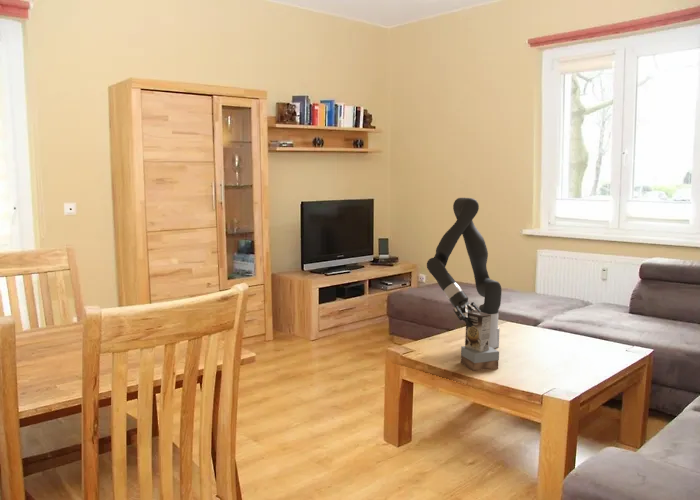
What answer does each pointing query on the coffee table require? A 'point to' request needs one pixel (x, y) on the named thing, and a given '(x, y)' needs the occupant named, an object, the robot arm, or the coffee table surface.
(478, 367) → the base slab
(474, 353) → the top slab
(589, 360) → the coffee table surface
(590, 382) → the coffee table surface
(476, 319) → the coffee box
